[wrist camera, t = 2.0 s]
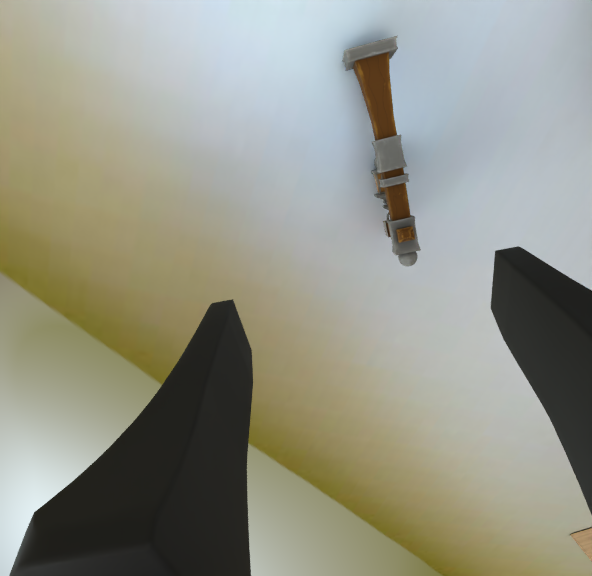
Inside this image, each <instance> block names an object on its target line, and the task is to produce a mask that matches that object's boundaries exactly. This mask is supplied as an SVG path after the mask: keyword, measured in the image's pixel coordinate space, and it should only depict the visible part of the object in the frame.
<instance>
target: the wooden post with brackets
mask: <svg viewBox="0 0 592 576" xmlns="http://www.w3.org/2000/svg"><path fill="white" fill-rule="evenodd" d="M396 38H397V36H394V37H391V38H387V39H383V40H380V41H376V42H372V43H369V44H365V45H361V46H358V47H354V48H350V49H347V50H344V55H343V60H342V61H343V62H344V64H345V67H346V70H350V69H354V71H355V74H356V76H357V79H358V81H359V84H360V87H361V90H362V93H363V96H364V100H365V103H366V106H367V109H368V113H369V116H370V119H371V123H372V127H373V132H374V136H375V141H373V142H372V144H373V146H374V149H375V155H376V159H375V161H374V165H375V167H376V168H377V170H374V171H371V173H373V175H374V178H375V182H376V186H377V192H378V193H377V194H374V196H375V197H376V198H380V199H383V200H384V202H383V203H386V205H384V206H383V208H385V209H387V210H389V213H388V214H387V221H383V222H384V227H385V232H386V236H387V237H391V240H392V252H393V253H394V254H395V255H399V262H400V263H401V264H402V265H404V266H412V265H413V264H415V262H416V260H417V253H416V251H419V250H420V247H419V244H418V239H417V234H416V228H415V217H414V216H412V215H410V210H409V203H408V197H407V190H406V184H405V182H409V179H408V174H404V171H403V167H406V166H407V165H406V163H405V160H404V156H403V151H402V145H401V135H397V133H396V127H395V121H394V116H393V105H392V95H391V85H390V74H389V59H391V57H392V56H393V55H394V53H395V52H396V50H397V49H398V47H397V46H396ZM389 215H390V219H391V220H389Z"/></svg>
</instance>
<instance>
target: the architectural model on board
mask: <svg viewBox="0 0 592 576" xmlns="http://www.w3.org/2000/svg"><path fill="white" fill-rule="evenodd" d="M571 536H572V537H573V539H574V540H575V541H576V542H577V544H578V545H579V546H580V547H581V549H582V550H583V551H584V552H585V554H586V555H587V556H588V557H589V559H590V560H591V561H592V528H590V529H587V530H584V531H580V532H577V533H574V534H571Z"/></svg>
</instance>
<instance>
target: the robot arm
mask: <svg viewBox="0 0 592 576" xmlns="http://www.w3.org/2000/svg"><path fill="white" fill-rule="evenodd" d="M491 310H492V312H493V315H494V317H495V320H496V322H497V325H498V327H499V329H500V332H501V334H502V336H503V339H504V341H505V342H506V344H507V346H508V348H509V349H510V351H511V353H512V354H513V356H514V358H515V360H516V361H517V363H518V365H519V366H520V368H521V370H522V371H523V373H524V375H525V376H526V378H527V380H528V381H529V383H530V385H531V386H532V388H533V390H534V392H535V393H536V395H537V397H538V398H539V400H540V402H541V403H542V405H543V407H544V409H545V410H546V412H547V414H548V416H549V418H550V420H551V422H552V424H553V426H554V428H555V430H556V433H557V435H558V437H559V439H560V441H561V443H562V446H563V448H564V450H565V452H566V454H567V457H568V459H569V461H570V464H571V466H572V468H573V471H574V473H575V475H576V478H577V480H578V482H579V485H580V487H581V489H582V492H583V494H584V497H585V499H586V502H587V504H588V507H589V509H590V512H591V514H592V291H591V290H590V289H588V288H586V287H584V286H583V285H581V284H579V283H578V282H576V281H574V280H573V279H571V278H569V277H568V276H566V275H564V274H563V273H561V272H559V271H558V270H556V269H555V268H553V267H551V266H550V265H548V264H547V263H545V262H543V261H542V260H540V259H539V258H537V257H535V256H534V255H532V254H531V253H529V252H527V251H526V250H524V249H522V248H521V247H513V248H508V249H502V250H497V251H495V261H494V274H493V286H492V299H491ZM252 388H253V371H252V352H251V348H250V345H249V342H248V339H247V337H246V334H245V331H244V329H243V326H242V323H241V320H240V318H239V315H238V312H237V310H236V307H235V304H234V301H233V300H227V301H222V302H217V303H212V304H211V305H210V307H209V308H208V310H207V312H206V314H205V316H204V317H203V319H202V321H201V323H200V325H199V327H198V328H197V330H196V332H195V334H194V336H193V337H192V339H191V341H190V343H189V344H188V346H187V348H186V349H185V351H184V353H183V354H182V356H181V358H180V359H179V361H178V362H177V364H176V366H175V367H174V368H173V370H172V371H171V373H170V374H169V376H168V377H167V379H166V380H165V382H164V383H163V385H162V386H161V388H160V389H159V390H158V392H157V393H156V394H155V396H154V397H153V399H152V400H151V401H150V402H149V404H148V405H147V406H146V407H145V409H144V410H143V411H142V412H141V414H140V415H139V416H138V417H137V418H136V419H135V421H134V422H133V423H132V424H131V425H130V426H129V427H128V428H127V429H126V430H125V431H124V432H123V433H122V435H121V436H120V437H119V438H118V439H117V440H116V441H115V442H114V443H113V444H112V445H111V446H110V447H109V448H108V449H107V450H106V451H105V452H104V453H103V454H102V455H101V456H100V457H99V458H98V459H97V460H96V461H95V462H94V463H93V464H92V465H90V466H89V467H88V468H87V469H86V470H85V471H84V472H83V473H82V474H81V475H79V476H78V477H77V478H76V479H75V480H74V481H73V482H72V483H70V484H69V485H68V486H67V487H65V488H64V489H63V490H62V491H60V492H59V493H58V494H57V495H56V496H54V497H53V498H52V499H51V500H49V501H48V502H47V503H46V504H44V505H43V506H42V507H41V508H39V509H38V510H37V511H36V512H34V515H33V517H32V519H31V521H30V524H29V526H28V528H27V531H26V533H25V536H24V539H23V541H22V544H21V546H20V549H19V552H18V555H17V557H16V559H15V562H14V565H13V567H12V570H11V573H10V576H251V570H250V552H249V532H248V505H247V451H248V438H249V426H250V414H251V402H252Z"/></svg>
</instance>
